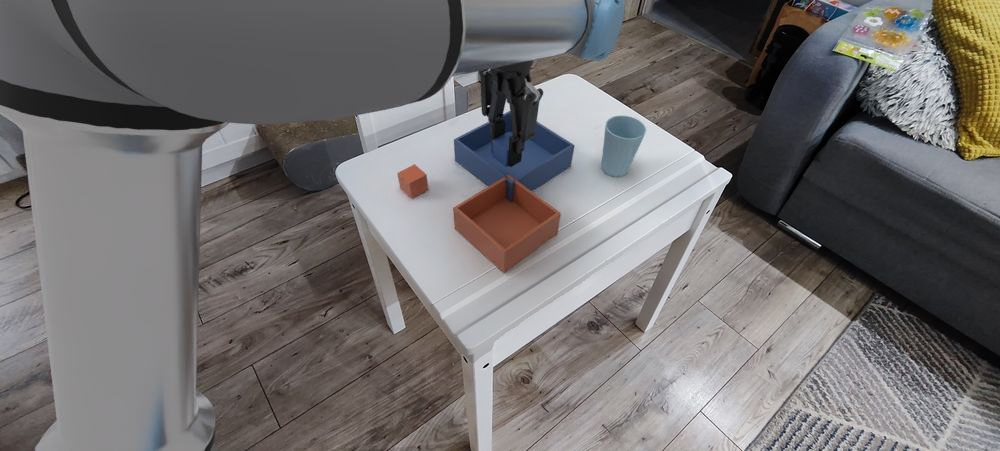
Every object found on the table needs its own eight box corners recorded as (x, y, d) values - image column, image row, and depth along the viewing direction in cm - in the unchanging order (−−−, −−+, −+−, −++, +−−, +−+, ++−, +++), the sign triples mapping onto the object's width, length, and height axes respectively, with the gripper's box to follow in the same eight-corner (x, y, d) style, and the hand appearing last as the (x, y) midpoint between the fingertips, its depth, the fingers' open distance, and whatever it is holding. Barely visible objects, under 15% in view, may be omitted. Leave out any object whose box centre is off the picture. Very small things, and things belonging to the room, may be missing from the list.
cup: (641, 171, 94) (654, 130, 87) (614, 185, 91) (625, 143, 84) (615, 152, 99) (626, 111, 91) (588, 165, 96) (597, 123, 88)
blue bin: (511, 204, 87) (512, 183, 83) (454, 160, 96) (453, 139, 91) (571, 166, 95) (574, 145, 91) (514, 128, 103) (515, 107, 99)
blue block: (506, 167, 85) (506, 150, 82) (492, 157, 87) (492, 140, 84) (521, 158, 87) (522, 141, 84) (507, 148, 89) (508, 131, 86)
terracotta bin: (503, 273, 76) (504, 252, 72) (454, 228, 83) (452, 207, 79) (557, 234, 82) (561, 213, 78) (507, 195, 89) (508, 174, 85)
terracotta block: (411, 199, 88) (409, 183, 85) (400, 188, 89) (397, 172, 87) (428, 189, 89) (426, 174, 86) (416, 179, 91) (414, 163, 88)
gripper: (568, 51, 67) (552, 171, 85) (492, 12, 76) (491, 129, 93) (533, 67, 64) (523, 189, 81) (456, 25, 72) (462, 144, 89)
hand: (506, 157), depth 87 cm, fingers closed on blue block, 4 cm apart
